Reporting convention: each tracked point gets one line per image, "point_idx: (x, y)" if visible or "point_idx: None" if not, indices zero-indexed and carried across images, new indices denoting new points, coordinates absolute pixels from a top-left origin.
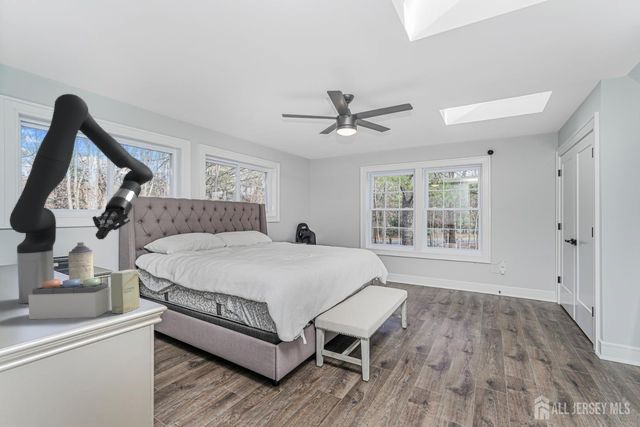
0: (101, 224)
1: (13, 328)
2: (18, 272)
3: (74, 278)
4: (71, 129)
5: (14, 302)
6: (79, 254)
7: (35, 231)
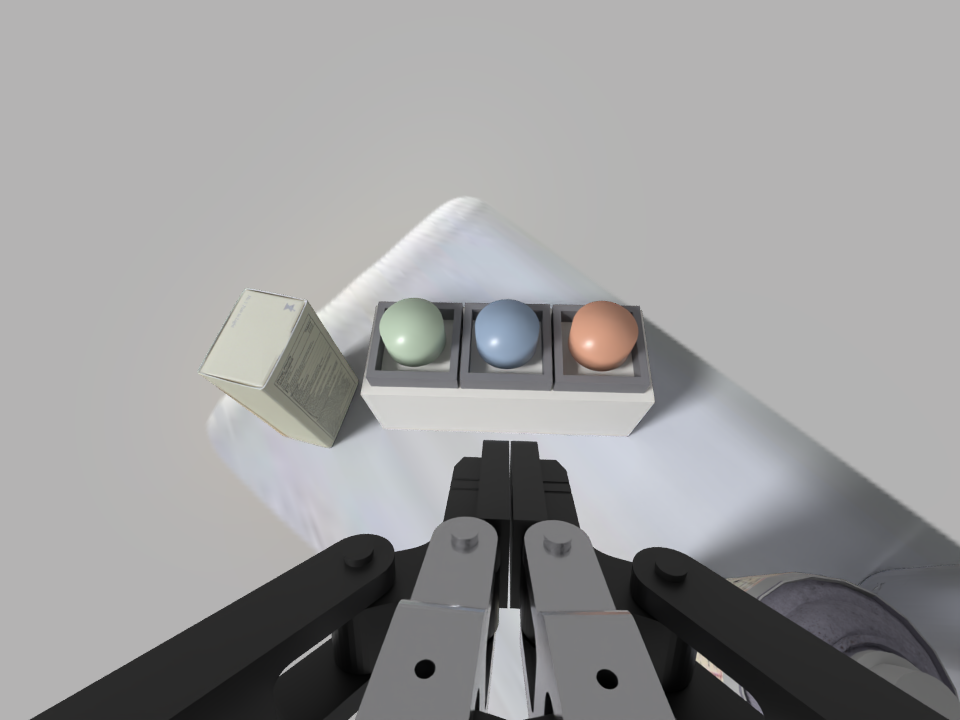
0: (584, 576)
1: (586, 291)
2: None
3: None
4: None
5: None
6: (754, 587)
7: None
